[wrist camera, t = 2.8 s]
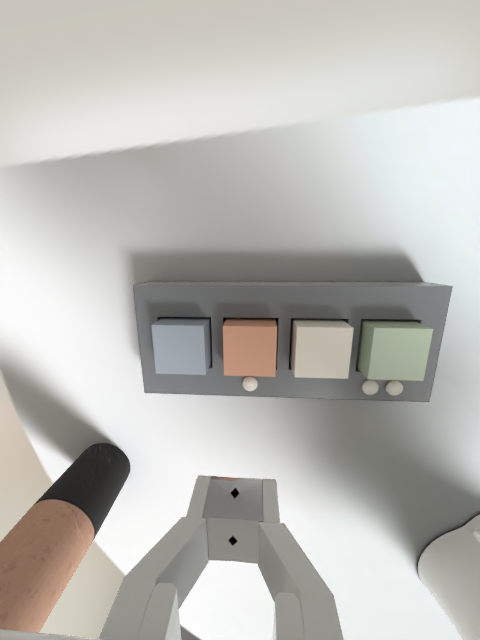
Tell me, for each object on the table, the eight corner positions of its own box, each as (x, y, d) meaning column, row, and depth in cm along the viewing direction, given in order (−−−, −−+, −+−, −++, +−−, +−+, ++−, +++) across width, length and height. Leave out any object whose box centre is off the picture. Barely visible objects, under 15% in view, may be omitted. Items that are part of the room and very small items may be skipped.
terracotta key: (274, 316, 27) (277, 326, 23) (273, 360, 28) (275, 376, 24) (227, 316, 27) (222, 326, 23) (228, 359, 28) (224, 375, 25)
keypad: (424, 281, 27) (455, 286, 23) (407, 383, 30) (431, 403, 26) (149, 281, 29) (131, 285, 25) (158, 376, 32) (143, 394, 28)
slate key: (211, 316, 27) (203, 325, 23) (212, 358, 28) (205, 374, 25) (166, 315, 28) (151, 325, 24) (169, 357, 29) (155, 373, 25)
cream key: (339, 317, 26) (353, 327, 22) (335, 361, 28) (347, 378, 24) (291, 316, 27) (297, 327, 23) (289, 360, 28) (294, 377, 24)
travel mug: (139, 482, 36) (5, 737, 17) (91, 488, 37) (-87, 738, 18) (122, 437, 35) (-49, 665, 15) (72, 445, 36) (-148, 670, 16)
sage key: (407, 318, 26) (433, 329, 22) (399, 363, 27) (423, 380, 23) (357, 317, 26) (374, 328, 22) (352, 362, 27) (367, 379, 24)
